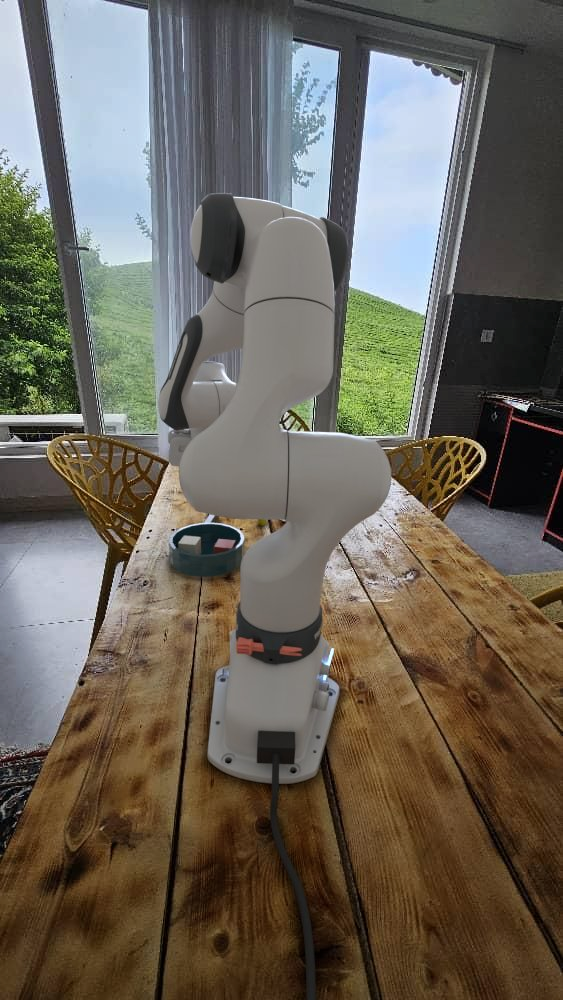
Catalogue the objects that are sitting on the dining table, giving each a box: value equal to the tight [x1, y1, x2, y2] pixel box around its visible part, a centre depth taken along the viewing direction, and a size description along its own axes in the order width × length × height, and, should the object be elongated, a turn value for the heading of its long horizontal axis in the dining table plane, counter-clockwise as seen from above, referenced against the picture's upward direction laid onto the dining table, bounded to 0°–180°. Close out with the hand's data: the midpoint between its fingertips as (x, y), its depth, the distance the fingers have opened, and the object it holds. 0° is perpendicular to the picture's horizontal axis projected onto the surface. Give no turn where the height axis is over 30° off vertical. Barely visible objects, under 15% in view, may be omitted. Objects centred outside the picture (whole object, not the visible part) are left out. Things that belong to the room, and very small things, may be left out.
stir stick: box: [203, 514, 220, 523], centre depth 116 cm, size 12×2×3 cm, turn 172°
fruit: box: [256, 519, 268, 527], centre depth 120 cm, size 10×2×5 cm, turn 173°
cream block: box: [178, 536, 201, 555], centre depth 101 cm, size 4×4×4 cm
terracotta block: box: [214, 539, 236, 554], centre depth 100 cm, size 4×4×4 cm
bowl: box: [168, 522, 246, 578], centre depth 101 cm, size 17×17×6 cm
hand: (210, 484), depth 112 cm, fingers open, 8 cm apart
